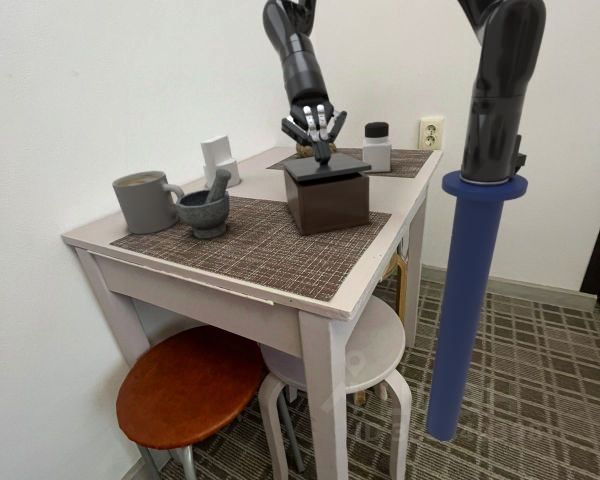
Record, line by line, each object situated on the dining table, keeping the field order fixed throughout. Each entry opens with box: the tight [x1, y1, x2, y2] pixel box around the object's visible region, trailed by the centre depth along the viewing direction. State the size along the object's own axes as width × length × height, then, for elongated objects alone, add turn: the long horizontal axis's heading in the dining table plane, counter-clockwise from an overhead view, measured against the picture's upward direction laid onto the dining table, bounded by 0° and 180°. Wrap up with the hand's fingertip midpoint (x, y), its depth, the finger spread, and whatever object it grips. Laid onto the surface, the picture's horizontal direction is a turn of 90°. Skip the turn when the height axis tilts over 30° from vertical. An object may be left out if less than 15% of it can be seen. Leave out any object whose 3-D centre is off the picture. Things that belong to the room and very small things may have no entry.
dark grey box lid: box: [281, 152, 372, 181], centre depth 61 cm, size 17×13×1 cm
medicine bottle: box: [362, 121, 392, 174], centre depth 87 cm, size 7×7×12 cm
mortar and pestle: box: [175, 169, 231, 239], centre depth 61 cm, size 11×9×12 cm
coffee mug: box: [111, 170, 186, 235], centre depth 67 cm, size 13×10×10 cm
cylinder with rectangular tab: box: [200, 134, 241, 189], centre depth 88 cm, size 9×9×12 cm
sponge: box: [295, 142, 338, 158], centre depth 105 cm, size 13×8×20 cm
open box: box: [282, 165, 370, 236], centre depth 64 cm, size 16×13×9 cm
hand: (324, 162), depth 58 cm, fingers closed
